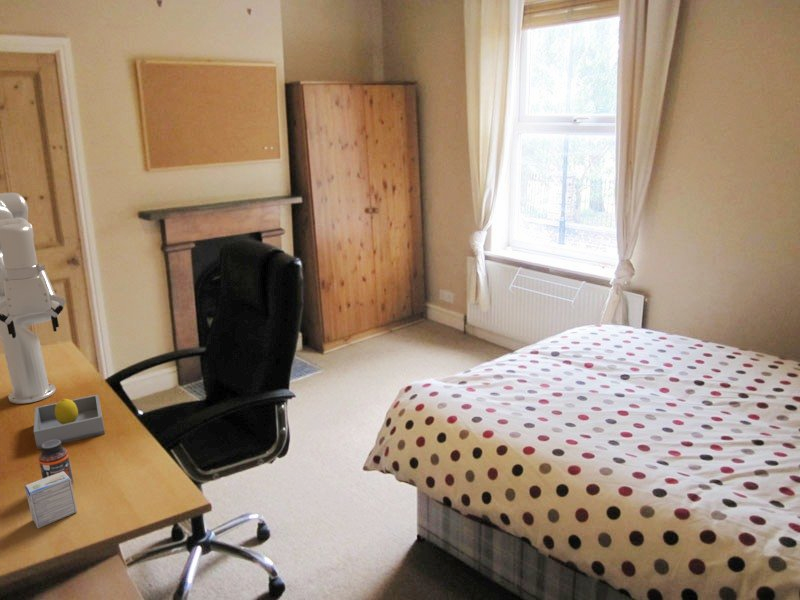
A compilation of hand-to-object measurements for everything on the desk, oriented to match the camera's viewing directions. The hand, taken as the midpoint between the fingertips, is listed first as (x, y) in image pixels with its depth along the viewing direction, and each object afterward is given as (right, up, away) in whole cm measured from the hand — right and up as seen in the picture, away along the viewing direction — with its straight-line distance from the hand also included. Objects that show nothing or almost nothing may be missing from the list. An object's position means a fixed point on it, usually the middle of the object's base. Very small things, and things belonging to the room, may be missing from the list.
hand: (34, 333), depth 171 cm
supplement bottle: (+19, -35, -23) cm, 46 cm away
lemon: (+8, -26, +3) cm, 27 cm away
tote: (+8, -26, +4) cm, 28 cm away
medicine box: (+24, -38, -34) cm, 56 cm away
